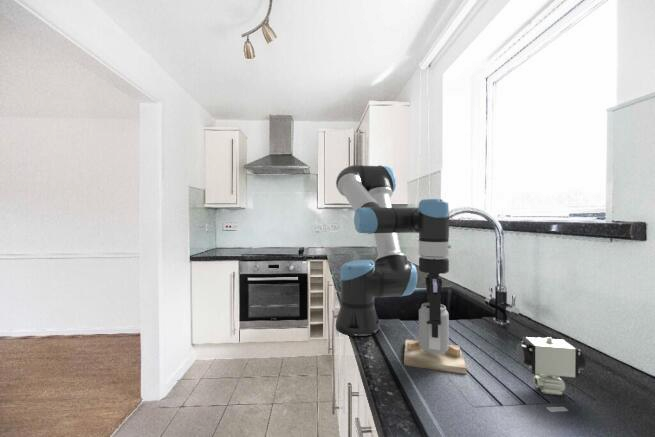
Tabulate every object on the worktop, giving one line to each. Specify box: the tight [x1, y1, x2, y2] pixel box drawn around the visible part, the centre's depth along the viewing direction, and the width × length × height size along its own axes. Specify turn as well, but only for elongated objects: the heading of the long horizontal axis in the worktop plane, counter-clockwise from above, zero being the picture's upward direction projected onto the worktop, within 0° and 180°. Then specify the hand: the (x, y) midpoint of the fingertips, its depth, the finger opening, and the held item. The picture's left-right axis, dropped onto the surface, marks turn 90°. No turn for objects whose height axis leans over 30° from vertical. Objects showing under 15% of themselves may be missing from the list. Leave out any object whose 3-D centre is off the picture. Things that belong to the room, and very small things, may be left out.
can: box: [418, 302, 450, 355], centre depth 78 cm, size 8×8×12 cm
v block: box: [403, 339, 468, 375], centre depth 80 cm, size 13×15×4 cm
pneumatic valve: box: [515, 336, 587, 396], centre depth 66 cm, size 6×12×12 cm, turn 78°
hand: (433, 341), depth 78 cm, fingers closed on can, 7 cm apart
